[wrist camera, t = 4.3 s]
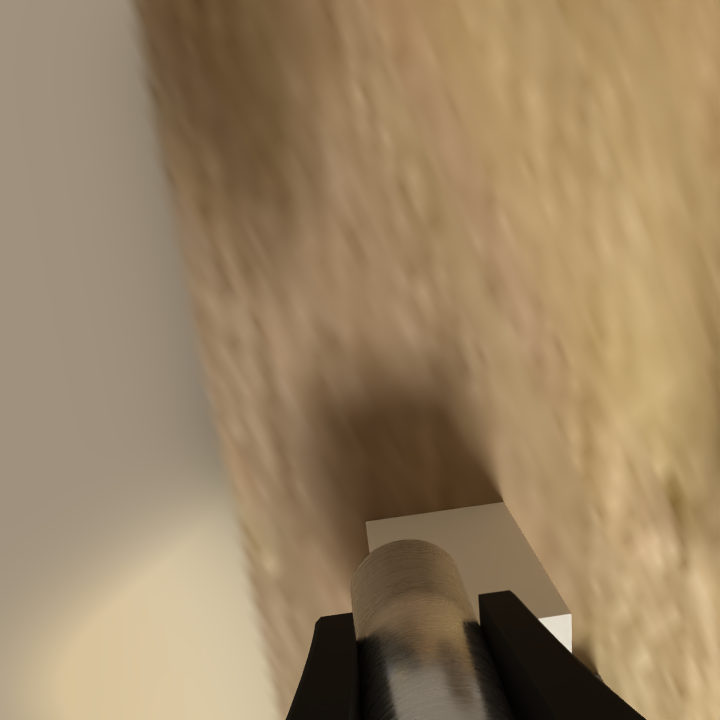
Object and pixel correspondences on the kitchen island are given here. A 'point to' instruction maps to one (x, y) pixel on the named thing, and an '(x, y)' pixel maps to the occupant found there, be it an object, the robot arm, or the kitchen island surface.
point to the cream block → (484, 557)
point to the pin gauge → (421, 639)
